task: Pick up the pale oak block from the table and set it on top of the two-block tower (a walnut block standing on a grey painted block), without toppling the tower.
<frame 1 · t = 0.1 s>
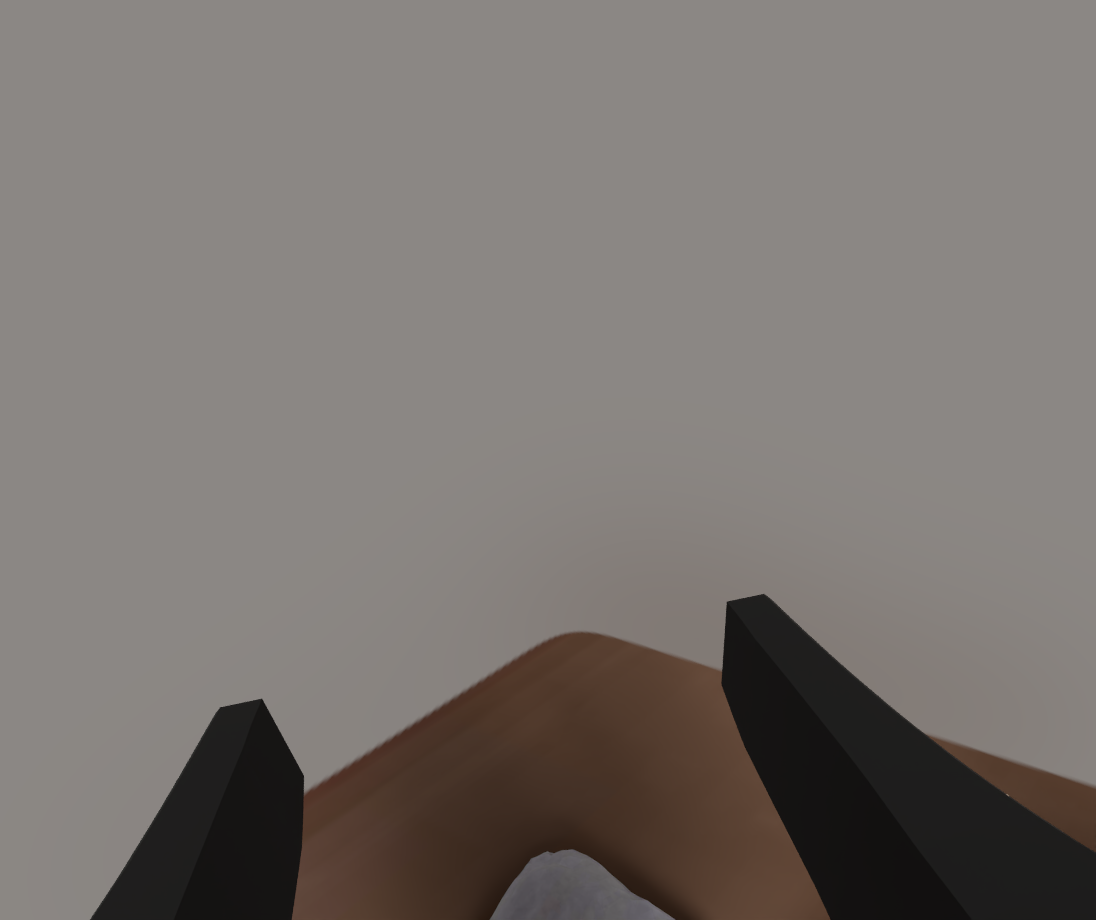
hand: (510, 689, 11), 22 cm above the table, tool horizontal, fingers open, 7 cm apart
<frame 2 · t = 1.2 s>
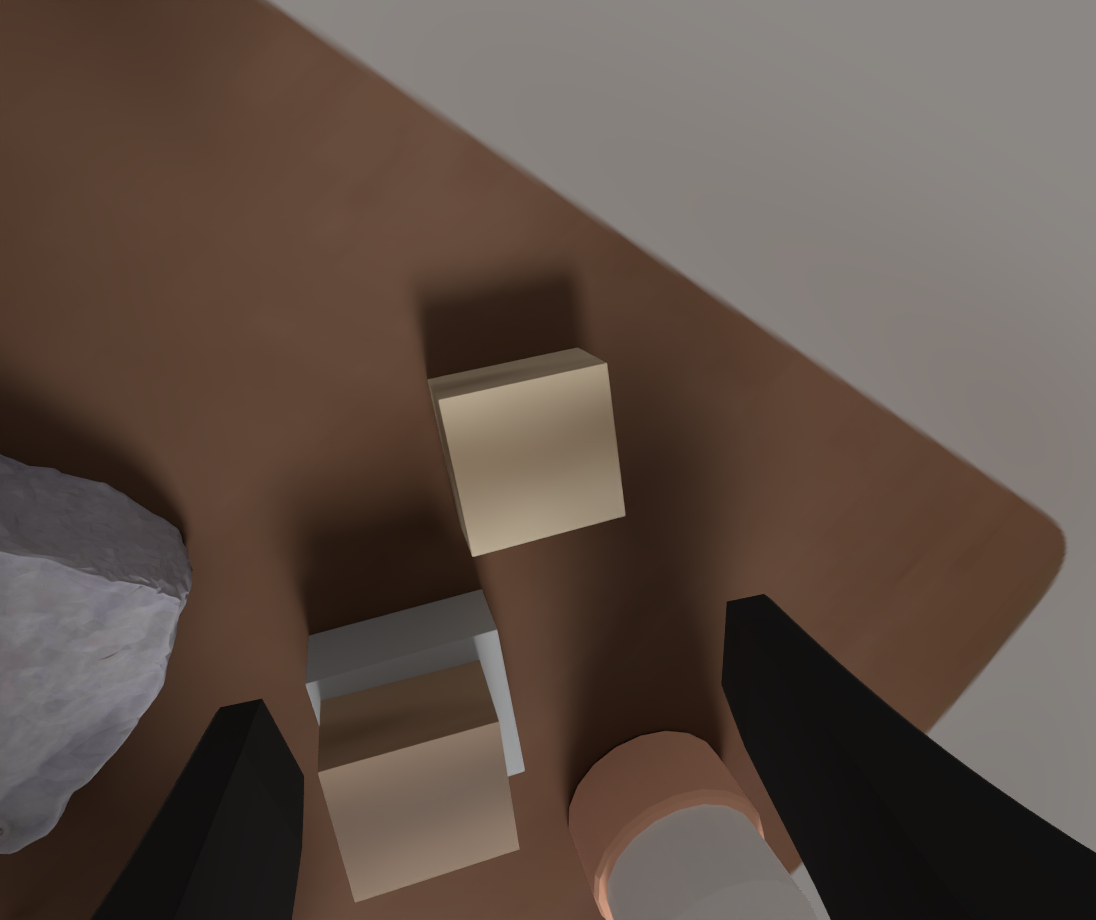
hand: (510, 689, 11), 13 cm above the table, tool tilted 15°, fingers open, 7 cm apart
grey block: (414, 675, 25), on the table, touching walnut block
walnut block: (415, 741, 23), point 3 cm above the table, touching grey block
oak block: (515, 433, 23), on the table
pepper shaker: (645, 796, 30), on the table
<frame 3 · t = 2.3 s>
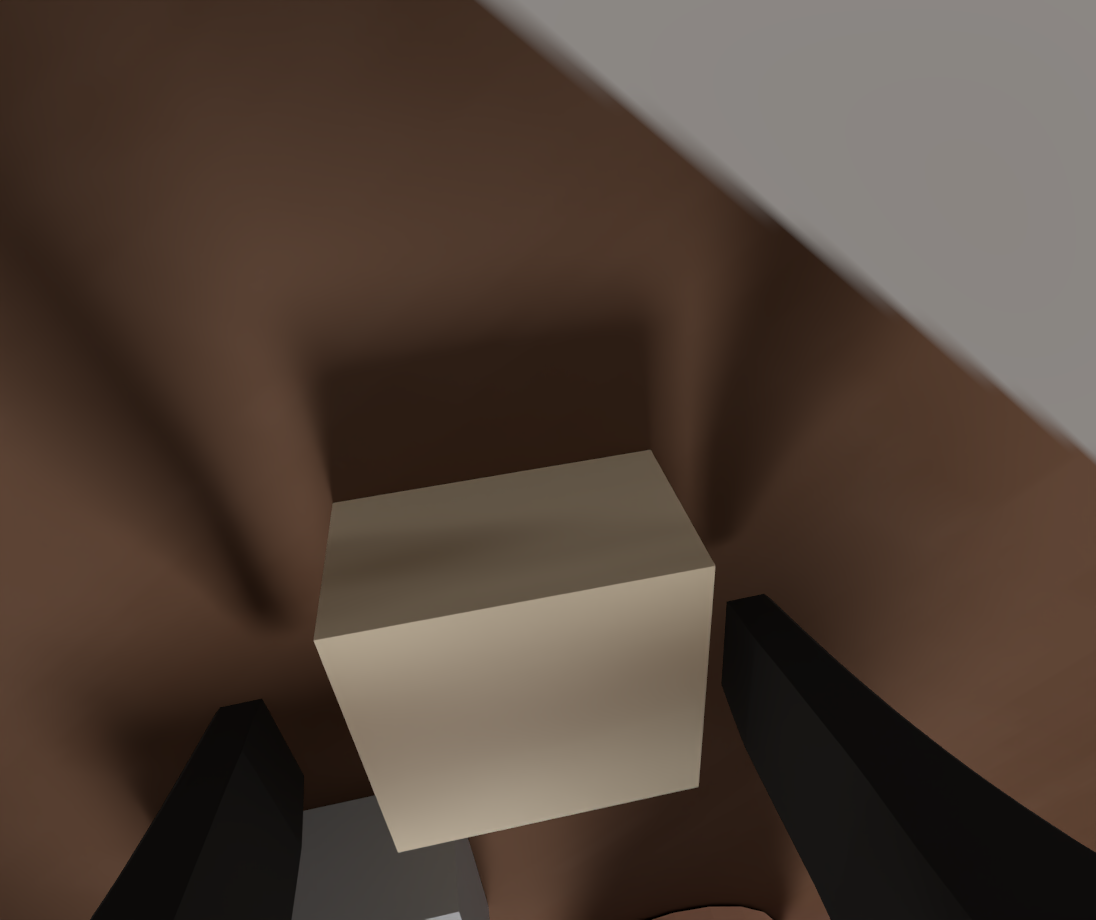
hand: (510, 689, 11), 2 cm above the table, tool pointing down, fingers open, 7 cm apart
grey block: (346, 861, 17), on the table, touching walnut block
oak block: (511, 581, 12), on the table
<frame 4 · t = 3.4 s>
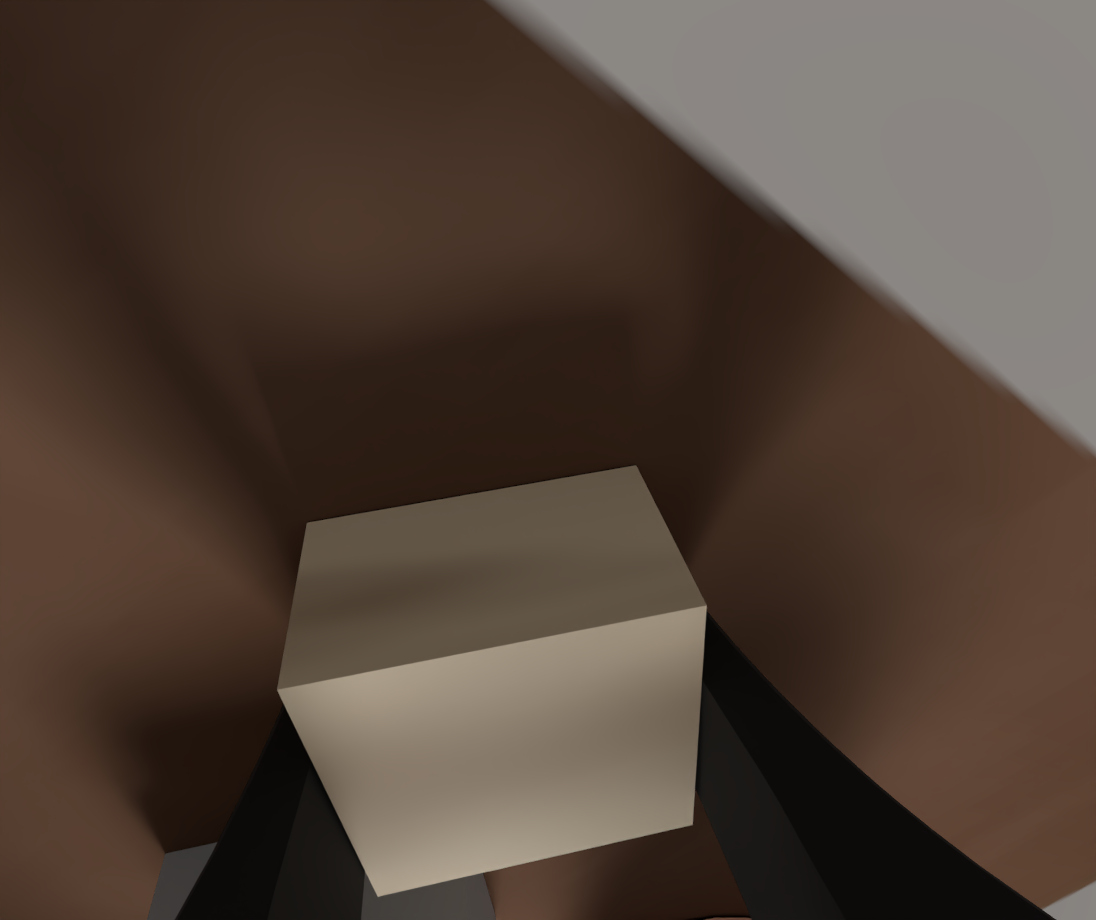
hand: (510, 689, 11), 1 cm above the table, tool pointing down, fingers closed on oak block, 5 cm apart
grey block: (351, 874, 16), on the table, touching walnut block
oak block: (496, 609, 12), on the table, touching gripper
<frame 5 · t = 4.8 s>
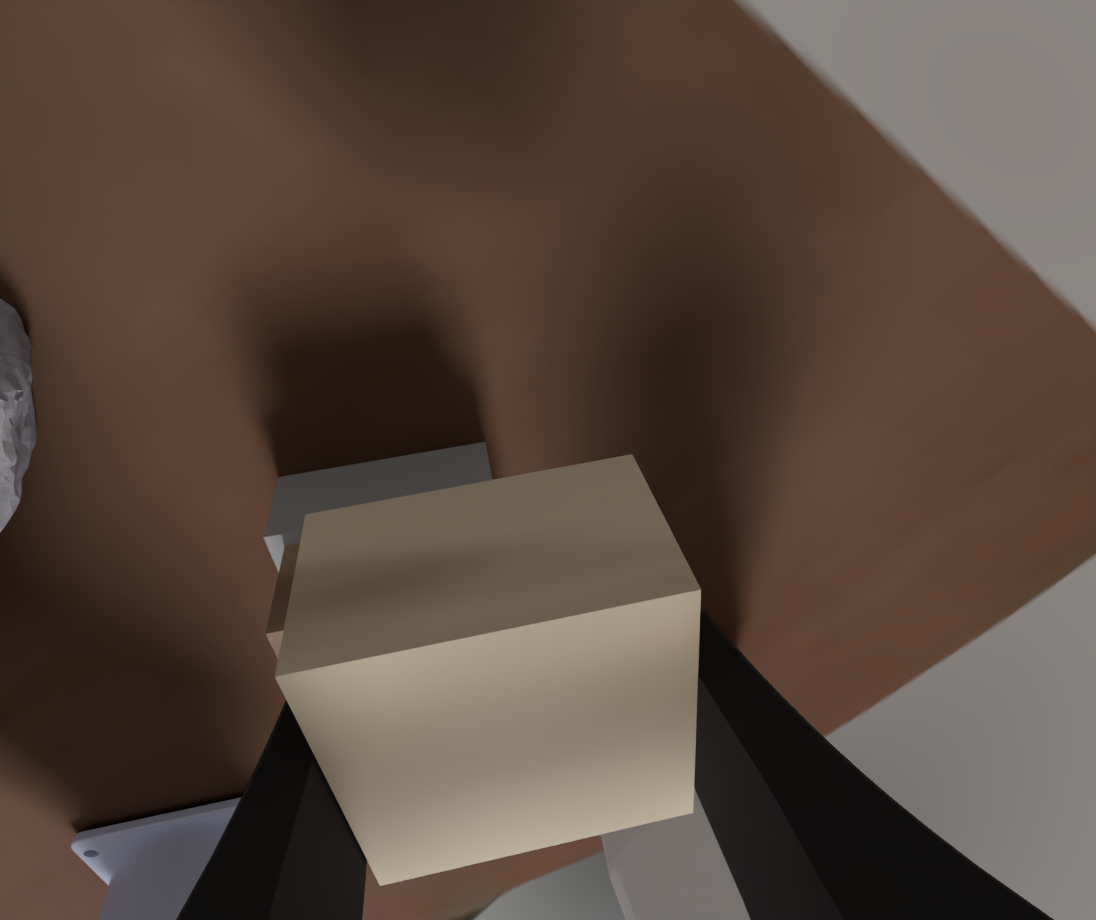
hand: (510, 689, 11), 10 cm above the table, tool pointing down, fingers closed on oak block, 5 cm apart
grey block: (404, 530, 22), on the table, touching walnut block
walnut block: (401, 595, 20), point 3 cm above the table, touching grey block
oak block: (495, 600, 12), point 9 cm above the table, touching gripper
pepper shaker: (646, 675, 28), on the table
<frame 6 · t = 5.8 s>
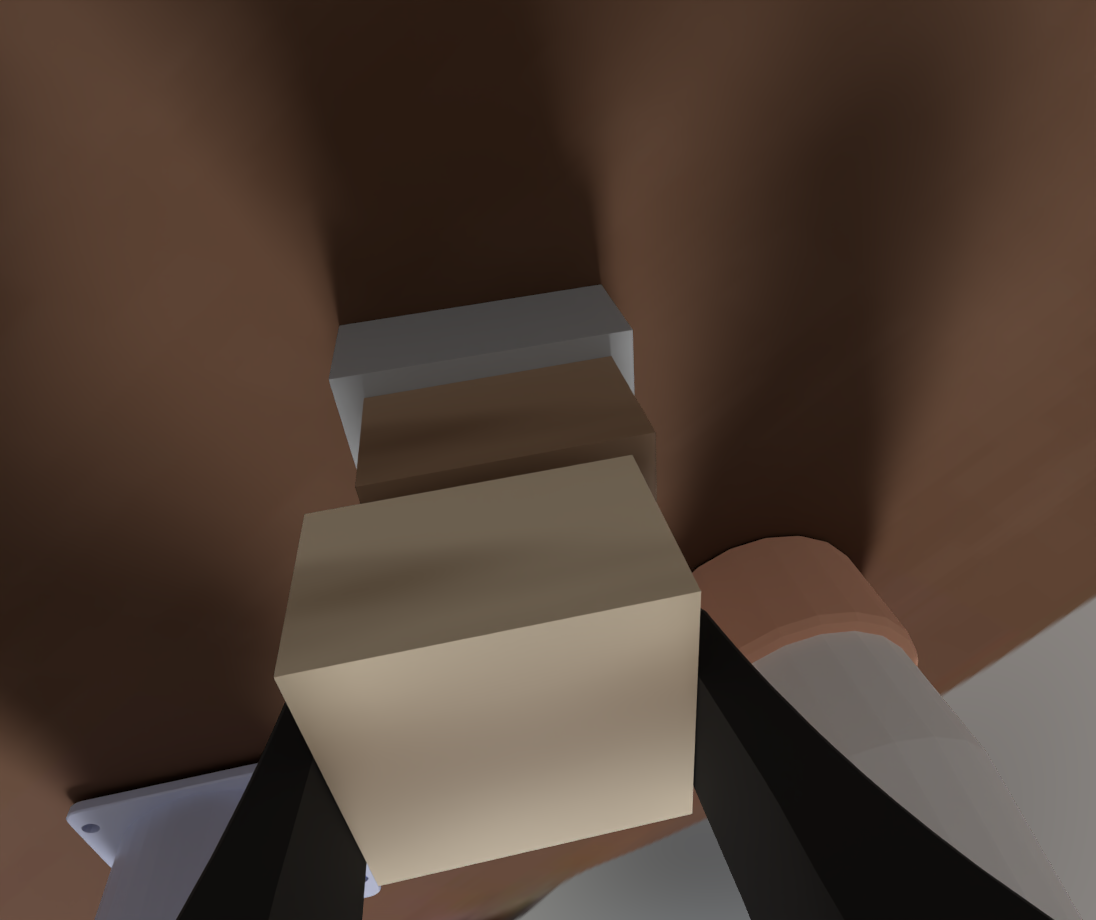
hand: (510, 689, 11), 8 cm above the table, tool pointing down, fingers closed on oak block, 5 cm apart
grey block: (489, 410, 18), on the table
walnut block: (506, 477, 15), point 3 cm above the table
oak block: (495, 600, 12), point 6 cm above the table, touching gripper
pepper shaker: (752, 613, 24), on the table
when the fingers open (8 cm above the table, at t = 6.6 s): oak block stays where it is, resting on walnut block.
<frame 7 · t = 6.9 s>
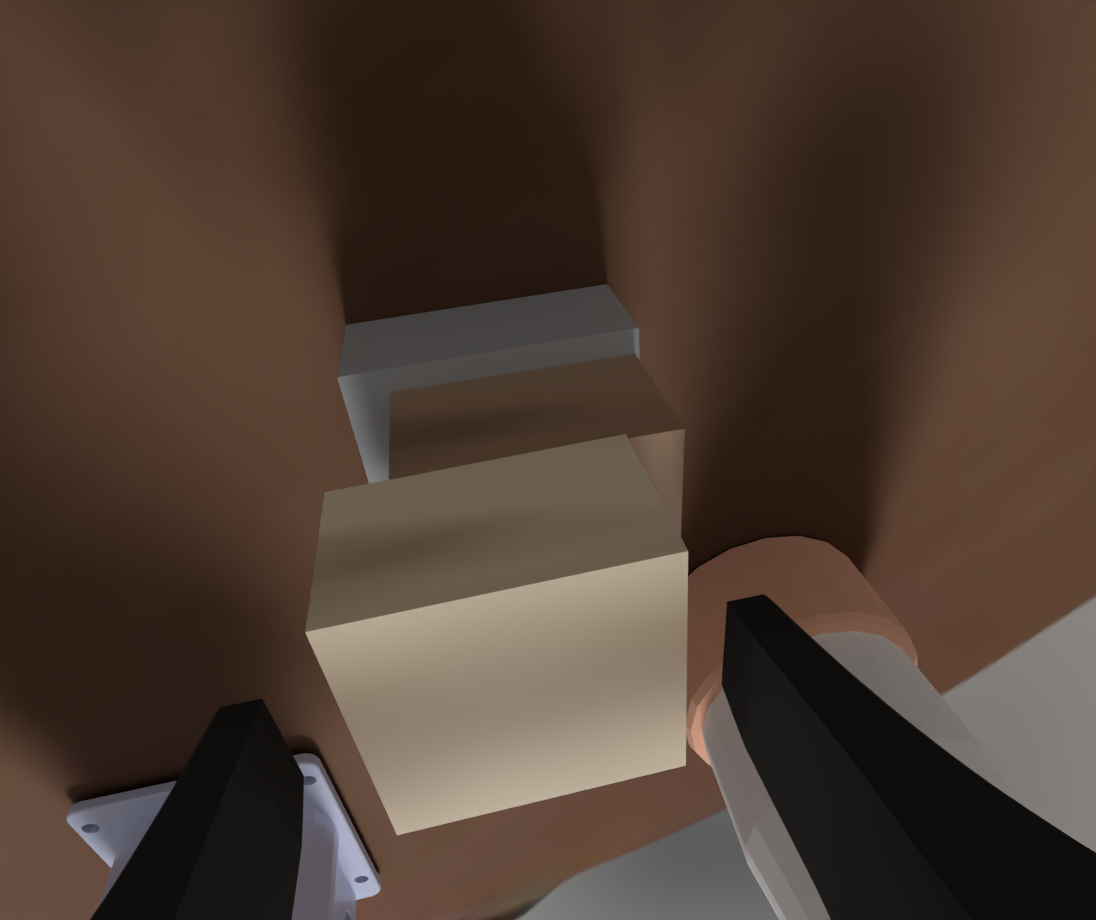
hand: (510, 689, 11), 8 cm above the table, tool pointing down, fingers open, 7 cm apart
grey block: (494, 408, 18), on the table
walnut block: (527, 473, 15), point 3 cm above the table, touching oak block
oak block: (500, 572, 13), point 6 cm above the table, touching walnut block
pepper shaker: (752, 613, 24), on the table
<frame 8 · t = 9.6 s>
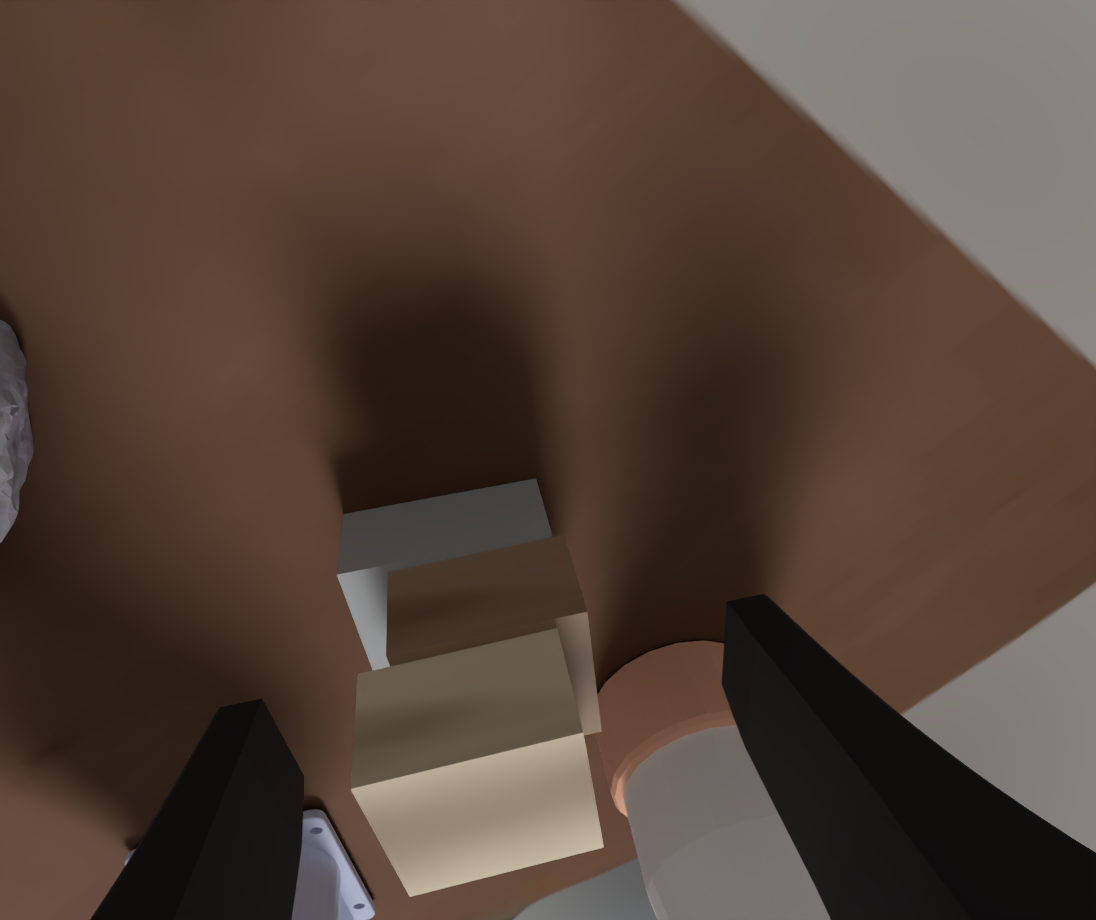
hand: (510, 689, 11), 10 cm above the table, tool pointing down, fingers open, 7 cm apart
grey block: (457, 560, 23), on the table, touching walnut block
walnut block: (491, 614, 21), point 3 cm above the table, touching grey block, oak block
oak block: (477, 711, 18), point 6 cm above the table, touching walnut block
pepper shaker: (673, 695, 29), on the table
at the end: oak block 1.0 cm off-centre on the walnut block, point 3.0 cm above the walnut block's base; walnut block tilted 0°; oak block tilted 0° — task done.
